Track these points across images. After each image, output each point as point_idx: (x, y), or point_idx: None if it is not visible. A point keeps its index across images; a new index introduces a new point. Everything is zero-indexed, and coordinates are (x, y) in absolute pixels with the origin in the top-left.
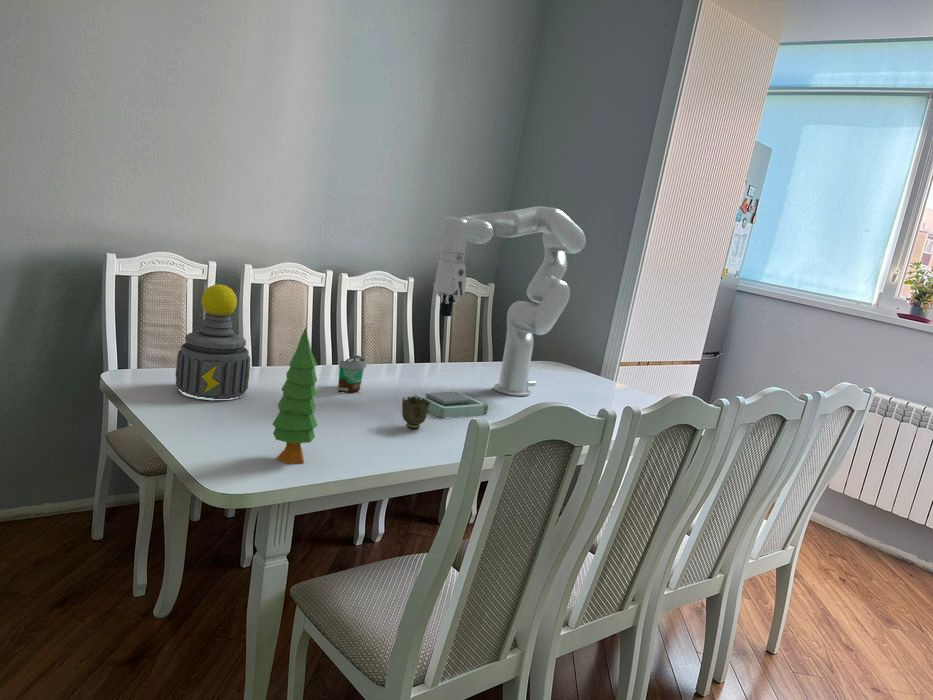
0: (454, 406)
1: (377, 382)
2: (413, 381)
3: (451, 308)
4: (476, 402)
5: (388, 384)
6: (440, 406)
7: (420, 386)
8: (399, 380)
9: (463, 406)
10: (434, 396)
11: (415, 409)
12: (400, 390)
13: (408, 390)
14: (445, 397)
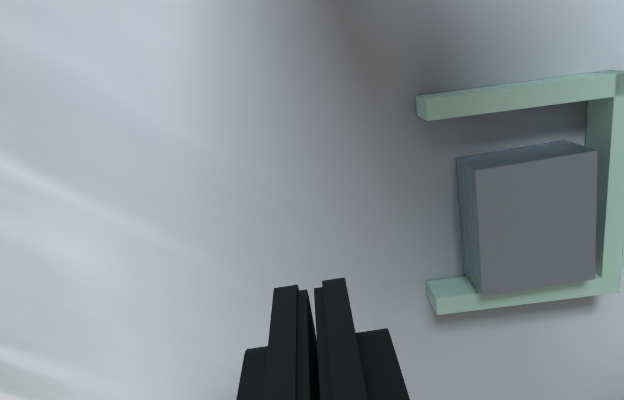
0: (610, 239)
1: (147, 304)
2: (112, 140)
3: (401, 377)
4: (579, 100)
5: (173, 274)
6: (596, 293)
7: (194, 148)
8: (104, 199)
9: (621, 202)
10: (529, 286)
11: None
12: (257, 264)
13: (257, 232)
14: (550, 248)
